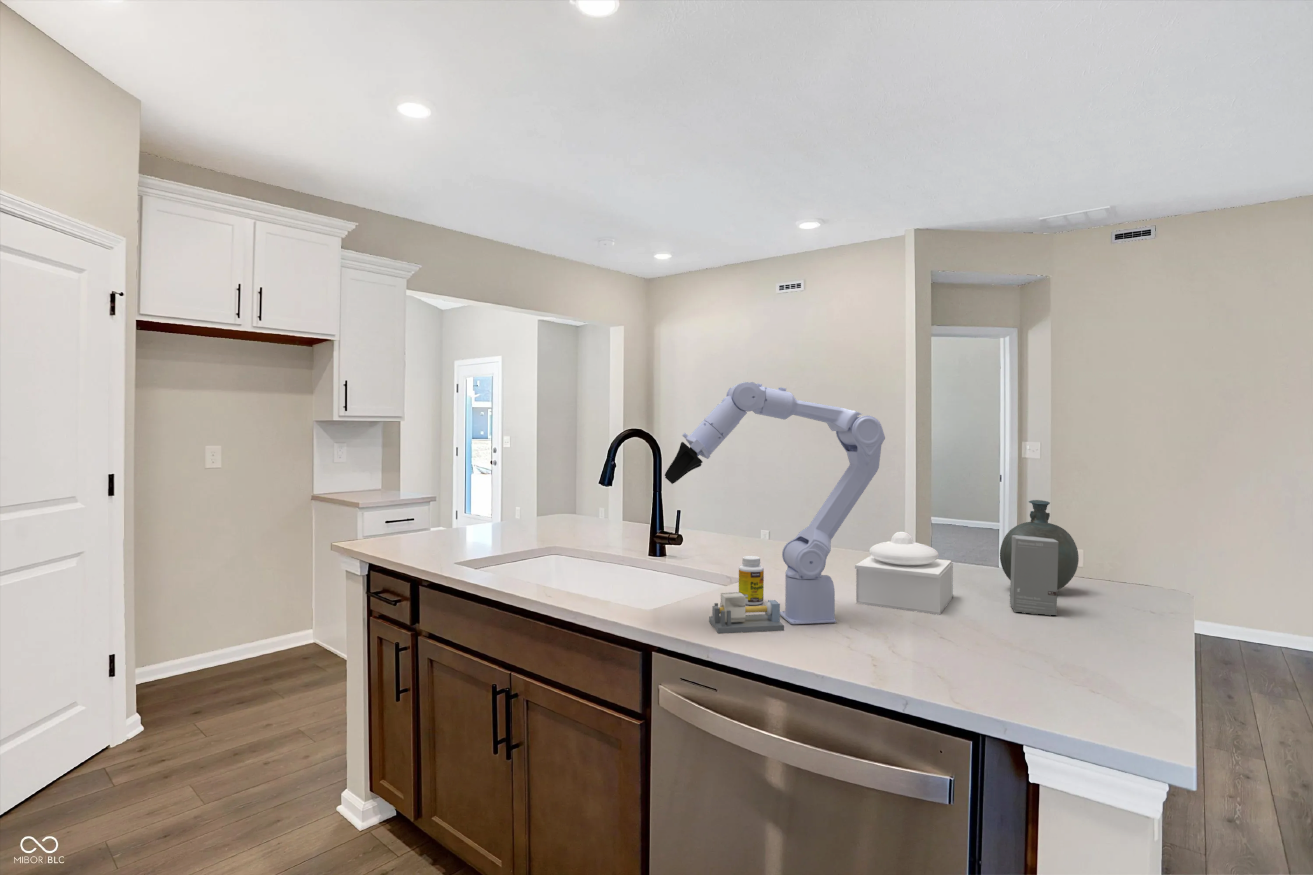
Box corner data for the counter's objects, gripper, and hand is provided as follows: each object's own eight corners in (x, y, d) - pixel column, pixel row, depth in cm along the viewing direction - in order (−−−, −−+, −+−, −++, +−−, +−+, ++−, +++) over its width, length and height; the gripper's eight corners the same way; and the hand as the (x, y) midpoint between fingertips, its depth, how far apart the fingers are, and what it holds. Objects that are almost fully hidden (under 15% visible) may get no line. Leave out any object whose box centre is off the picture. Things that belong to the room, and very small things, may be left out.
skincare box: (1013, 613, 138) (1013, 538, 138) (1009, 605, 145) (1009, 533, 145) (1059, 617, 135) (1059, 540, 135) (1053, 608, 142) (1053, 535, 142)
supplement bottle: (750, 607, 143) (750, 560, 143) (733, 601, 148) (733, 556, 148) (768, 603, 146) (768, 557, 146) (752, 598, 151) (752, 554, 151)
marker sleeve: (740, 616, 131) (740, 592, 131) (745, 621, 127) (745, 596, 127) (720, 616, 130) (720, 592, 130) (725, 622, 127) (725, 597, 127)
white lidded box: (952, 598, 152) (952, 529, 152) (939, 616, 137) (939, 540, 136) (875, 588, 161) (875, 524, 161) (854, 604, 146) (855, 533, 146)
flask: (1085, 601, 148) (1086, 504, 148) (1001, 594, 154) (1001, 501, 154) (1075, 589, 159) (1075, 499, 159) (996, 583, 165) (996, 496, 165)
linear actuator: (771, 618, 134) (771, 596, 134) (784, 630, 126) (784, 607, 126) (709, 621, 132) (709, 599, 132) (718, 633, 124) (718, 609, 124)
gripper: (697, 421, 139) (654, 468, 138) (700, 411, 125) (652, 463, 124) (722, 443, 139) (679, 491, 138) (728, 435, 124) (680, 488, 123)
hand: (668, 479), depth 131 cm, fingers open, 7 cm apart
